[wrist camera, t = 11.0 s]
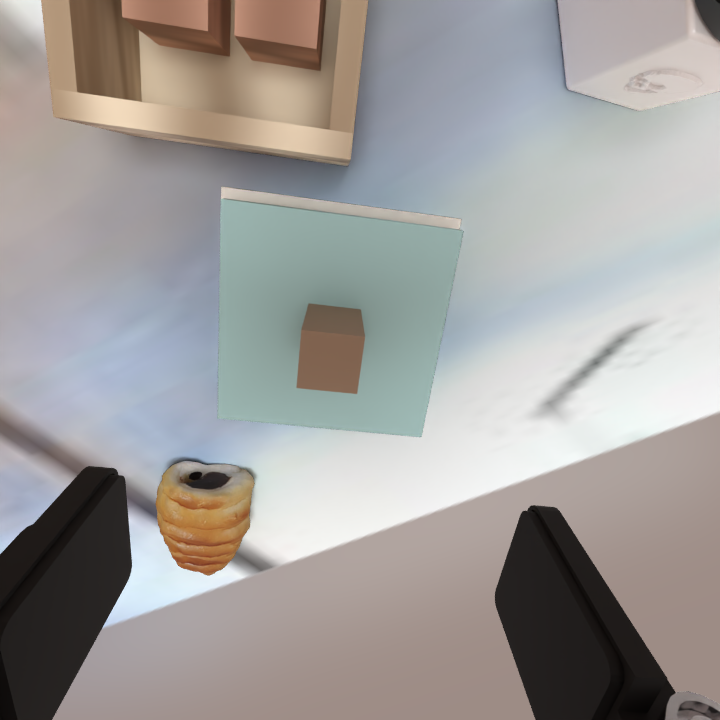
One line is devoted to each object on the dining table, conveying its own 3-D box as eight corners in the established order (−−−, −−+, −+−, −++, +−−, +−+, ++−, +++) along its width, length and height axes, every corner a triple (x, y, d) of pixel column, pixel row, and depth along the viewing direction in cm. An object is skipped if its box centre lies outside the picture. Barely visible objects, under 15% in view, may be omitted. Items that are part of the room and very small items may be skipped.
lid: (452, 227, 26) (492, 241, 20) (415, 418, 31) (436, 485, 24) (231, 197, 25) (190, 202, 18) (226, 400, 30) (192, 465, 23)
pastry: (249, 560, 36) (238, 601, 32) (163, 551, 35) (143, 592, 32) (258, 462, 33) (247, 496, 29) (164, 451, 32) (141, 484, 28)
